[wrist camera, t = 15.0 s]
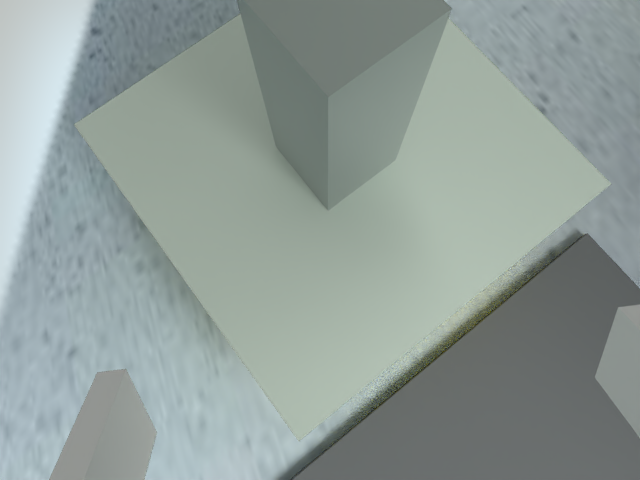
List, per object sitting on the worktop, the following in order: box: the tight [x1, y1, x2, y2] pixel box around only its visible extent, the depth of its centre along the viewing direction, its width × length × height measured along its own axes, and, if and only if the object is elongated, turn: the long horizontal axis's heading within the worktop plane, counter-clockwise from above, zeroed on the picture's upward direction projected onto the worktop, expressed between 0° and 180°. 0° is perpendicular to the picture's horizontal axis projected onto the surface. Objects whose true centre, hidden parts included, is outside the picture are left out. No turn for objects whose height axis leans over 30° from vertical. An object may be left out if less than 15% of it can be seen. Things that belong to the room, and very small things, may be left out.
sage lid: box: [74, 0, 611, 441], centre depth 17 cm, size 18×18×11 cm
